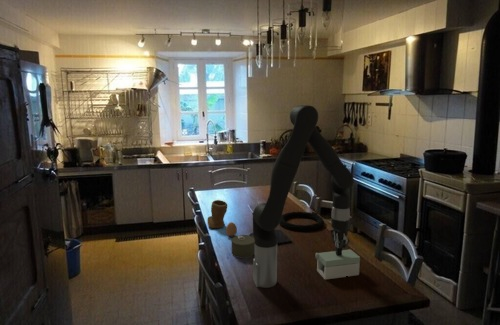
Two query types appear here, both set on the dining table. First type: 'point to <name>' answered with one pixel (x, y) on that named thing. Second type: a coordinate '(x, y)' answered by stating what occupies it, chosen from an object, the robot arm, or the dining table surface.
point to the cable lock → (302, 227)
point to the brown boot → (217, 214)
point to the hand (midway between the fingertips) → (338, 255)
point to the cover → (337, 258)
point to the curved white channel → (337, 270)
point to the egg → (231, 229)
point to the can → (243, 246)
